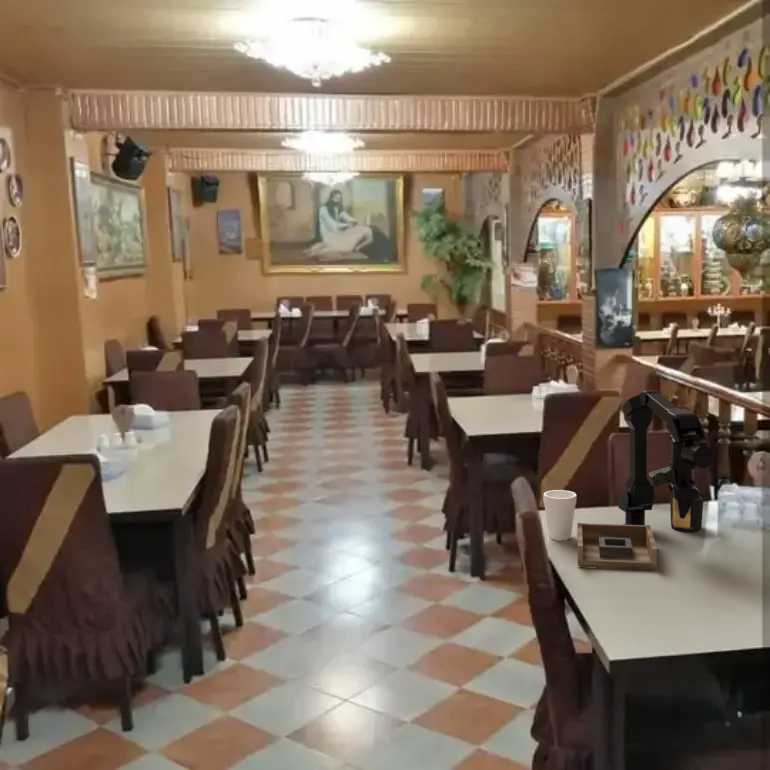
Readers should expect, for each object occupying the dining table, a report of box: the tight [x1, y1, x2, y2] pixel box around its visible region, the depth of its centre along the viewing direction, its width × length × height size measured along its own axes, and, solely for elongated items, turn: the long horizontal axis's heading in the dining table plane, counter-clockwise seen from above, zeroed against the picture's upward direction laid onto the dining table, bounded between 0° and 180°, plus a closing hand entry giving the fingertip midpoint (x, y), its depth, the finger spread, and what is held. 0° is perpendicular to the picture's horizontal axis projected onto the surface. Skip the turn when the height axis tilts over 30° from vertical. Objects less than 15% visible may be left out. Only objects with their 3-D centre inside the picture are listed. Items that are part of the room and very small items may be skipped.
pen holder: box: [669, 493, 704, 533], centre depth 264 cm, size 9×9×10 cm
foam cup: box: [542, 489, 577, 541], centre depth 259 cm, size 10×9×13 cm
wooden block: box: [672, 497, 691, 528], centre depth 238 cm, size 4×4×8 cm
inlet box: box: [576, 522, 658, 572], centre depth 242 cm, size 20×20×6 cm
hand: (681, 515), depth 238 cm, fingers closed on wooden block, 4 cm apart
